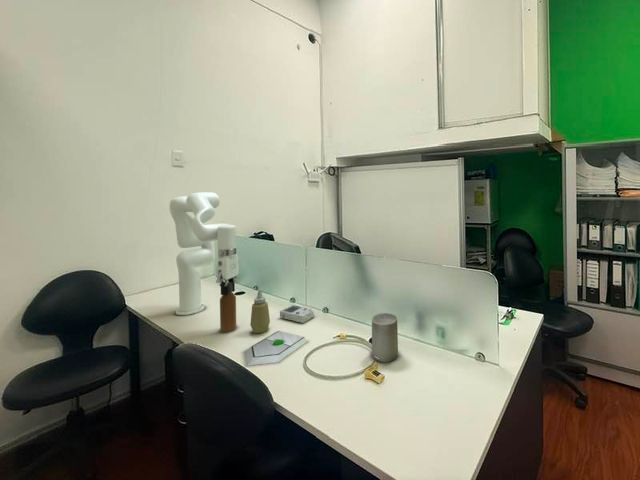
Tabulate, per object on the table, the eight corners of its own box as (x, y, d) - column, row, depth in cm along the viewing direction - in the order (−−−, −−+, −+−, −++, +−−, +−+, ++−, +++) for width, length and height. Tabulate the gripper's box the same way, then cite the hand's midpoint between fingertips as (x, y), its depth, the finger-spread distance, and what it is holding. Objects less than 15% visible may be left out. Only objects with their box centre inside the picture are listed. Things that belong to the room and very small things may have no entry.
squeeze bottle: (263, 335, 127) (262, 293, 127) (246, 334, 128) (245, 292, 128) (273, 327, 135) (273, 287, 134) (257, 325, 136) (257, 286, 136)
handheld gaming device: (302, 324, 137) (302, 315, 137) (279, 318, 144) (279, 310, 144) (315, 317, 145) (315, 309, 145) (292, 311, 152) (292, 304, 152)
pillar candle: (394, 346, 116) (394, 308, 116) (400, 361, 106) (399, 319, 106) (370, 349, 114) (369, 310, 114) (373, 364, 105) (373, 321, 104)
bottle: (222, 327, 135) (221, 283, 135) (237, 325, 137) (236, 282, 137) (218, 333, 129) (217, 288, 129) (234, 331, 131) (234, 286, 131)
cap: (222, 290, 134) (222, 282, 134) (232, 289, 136) (232, 281, 136) (223, 293, 130) (222, 285, 130) (233, 291, 132) (232, 283, 132)
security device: (230, 360, 108) (230, 354, 108) (276, 333, 129) (276, 328, 129) (264, 372, 101) (264, 366, 101) (307, 341, 121) (307, 336, 121)
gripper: (222, 256, 124) (223, 300, 124) (245, 248, 141) (246, 287, 141) (206, 256, 125) (207, 299, 125) (230, 248, 142) (231, 287, 142)
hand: (227, 292), depth 133 cm, fingers closed on cap, 3 cm apart
